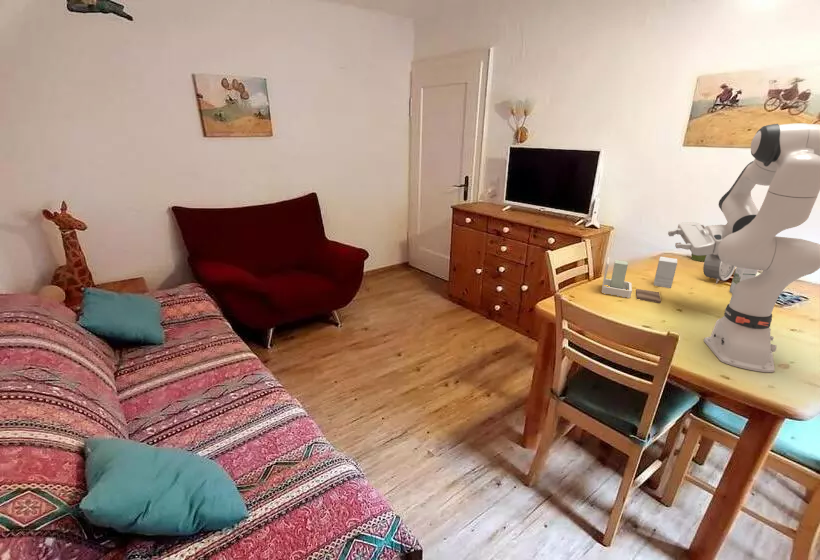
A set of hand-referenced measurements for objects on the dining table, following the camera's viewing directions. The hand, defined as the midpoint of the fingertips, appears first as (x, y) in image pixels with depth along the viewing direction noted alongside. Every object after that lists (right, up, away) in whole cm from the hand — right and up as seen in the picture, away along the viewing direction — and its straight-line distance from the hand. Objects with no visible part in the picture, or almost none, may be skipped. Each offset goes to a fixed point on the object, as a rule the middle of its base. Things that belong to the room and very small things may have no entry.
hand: (672, 239), depth 166 cm
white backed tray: (-13, -22, +19) cm, 32 cm away
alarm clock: (+43, -17, +34) cm, 58 cm away
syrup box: (+41, -23, +18) cm, 50 cm away
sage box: (-13, -22, +19) cm, 32 cm away
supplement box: (+13, -19, +28) cm, 36 cm away
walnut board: (-2, -24, +14) cm, 28 cm away
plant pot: (+57, -5, +65) cm, 86 cm away
